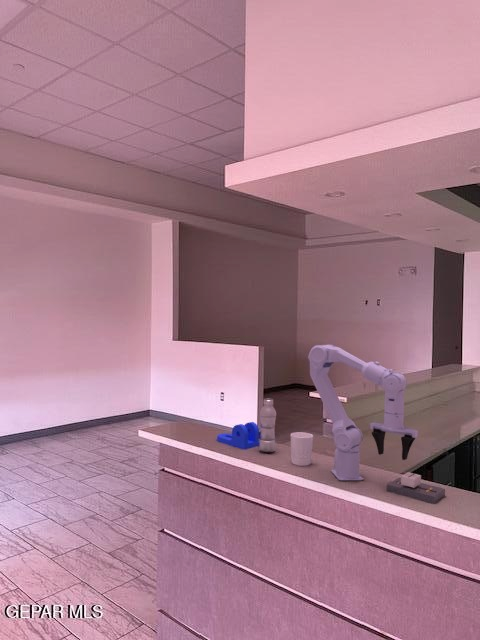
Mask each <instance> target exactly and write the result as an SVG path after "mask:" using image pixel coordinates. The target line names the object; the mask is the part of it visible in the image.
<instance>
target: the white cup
mask: <svg viewBox="0 0 480 640" xmlns="http://www.w3.org/2000/svg"><path fill="white" fill-rule="evenodd" d="M313 441H314V435H313V434H312V433H308V432H304V431H301V432H298V431H297V432H291V433H290V454H291V455H290V456H291V457H290V458H291V461H290V462H291V464H293V465H294V466H300V467H303V466H304V467H305V466H310V465H311V464H312V453H313V443H314V442H313Z"/></svg>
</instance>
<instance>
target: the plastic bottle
mask: <svg viewBox="0 0 480 640" xmlns="http://www.w3.org/2000/svg"><path fill="white" fill-rule="evenodd" d="M262 403H263V406H262V408H261V409H260V411H259V420H260V432H259V446H258V449H259V450H260V452H263V453H273V452H274V451H275V450H276V445H277V444H276V437H275V429H276V428H275V426H276V419H277V411H276V409H275V407H274V399H273V398H263V402H262Z"/></svg>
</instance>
